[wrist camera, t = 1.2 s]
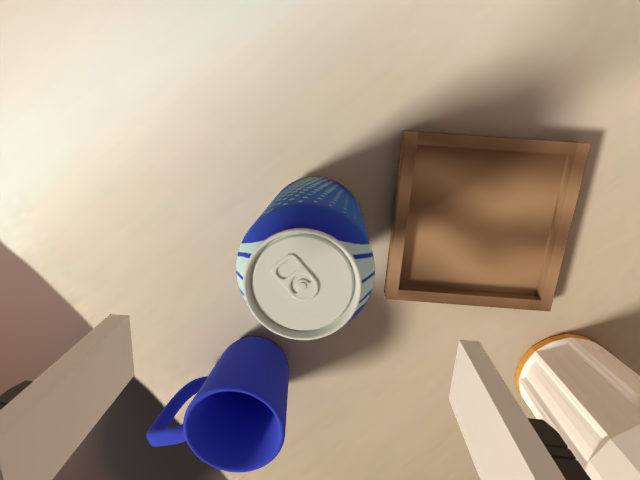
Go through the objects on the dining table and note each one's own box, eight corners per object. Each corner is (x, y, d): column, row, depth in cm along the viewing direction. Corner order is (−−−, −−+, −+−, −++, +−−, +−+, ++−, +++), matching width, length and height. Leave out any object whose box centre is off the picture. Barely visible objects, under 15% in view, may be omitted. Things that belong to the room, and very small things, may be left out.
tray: (403, 130, 35) (406, 131, 33) (578, 142, 35) (590, 143, 33) (384, 291, 39) (386, 299, 38) (540, 303, 39) (550, 311, 37)
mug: (171, 343, 42) (122, 409, 32) (283, 317, 41) (267, 378, 31) (198, 409, 44) (159, 489, 34) (305, 386, 43) (296, 463, 33)
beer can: (362, 174, 36) (381, 212, 21) (360, 263, 39) (376, 356, 23) (268, 175, 37) (220, 212, 21) (272, 263, 39) (231, 354, 24)
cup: (584, 434, 43) (742, 632, 26) (485, 401, 42) (582, 583, 26) (642, 344, 40) (863, 504, 23) (536, 307, 39) (685, 444, 22)
